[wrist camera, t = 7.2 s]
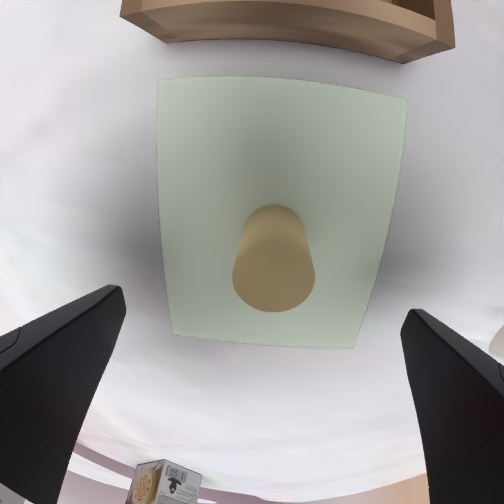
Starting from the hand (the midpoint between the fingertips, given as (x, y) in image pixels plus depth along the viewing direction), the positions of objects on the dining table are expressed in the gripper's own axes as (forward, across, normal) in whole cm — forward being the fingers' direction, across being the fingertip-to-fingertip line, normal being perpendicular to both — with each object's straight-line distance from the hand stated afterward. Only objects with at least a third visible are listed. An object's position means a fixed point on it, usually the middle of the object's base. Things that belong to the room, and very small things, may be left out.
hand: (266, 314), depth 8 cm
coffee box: (+7, +11, +37) cm, 39 cm away
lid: (+7, 0, 0) cm, 7 cm away
